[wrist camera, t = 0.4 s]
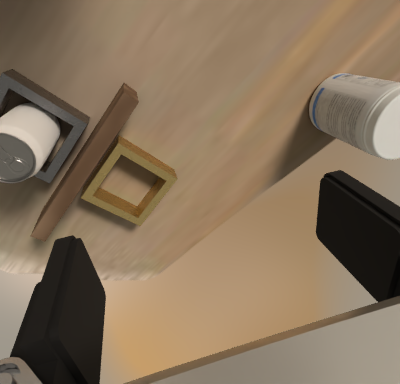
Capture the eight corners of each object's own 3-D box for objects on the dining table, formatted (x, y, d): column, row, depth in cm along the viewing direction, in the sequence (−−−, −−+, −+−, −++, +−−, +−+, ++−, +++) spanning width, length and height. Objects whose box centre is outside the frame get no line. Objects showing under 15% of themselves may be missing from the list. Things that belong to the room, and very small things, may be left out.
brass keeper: (83, 187, 45) (80, 198, 43) (118, 135, 43) (118, 142, 40) (139, 214, 50) (140, 226, 47) (174, 169, 48) (177, 178, 45)
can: (41, 156, 42) (14, 197, 32) (-3, 124, 38) (-47, 159, 28) (71, 127, 41) (54, 159, 31) (29, 91, 37) (-6, 114, 27)
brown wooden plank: (42, 209, 46) (30, 236, 40) (123, 82, 39) (124, 92, 34) (54, 214, 47) (44, 241, 41) (136, 91, 40) (138, 102, 34)
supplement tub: (324, 140, 52) (388, 175, 39) (295, 105, 47) (357, 133, 35) (367, 98, 49) (449, 121, 37) (341, 57, 45) (425, 68, 32)
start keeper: (-22, 135, 39) (-34, 144, 36) (12, 69, 36) (2, 72, 33) (54, 172, 43) (49, 183, 40) (89, 117, 41) (87, 124, 38)
